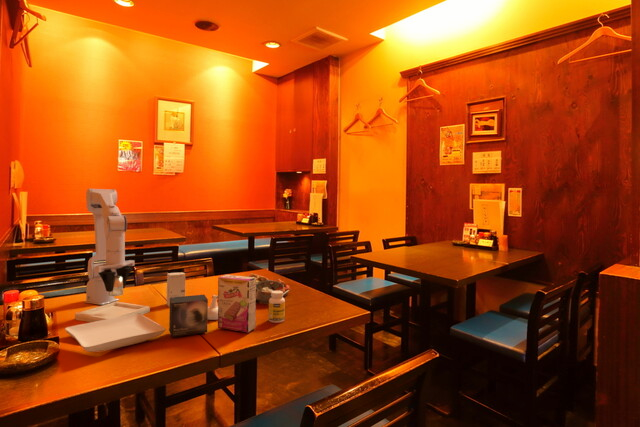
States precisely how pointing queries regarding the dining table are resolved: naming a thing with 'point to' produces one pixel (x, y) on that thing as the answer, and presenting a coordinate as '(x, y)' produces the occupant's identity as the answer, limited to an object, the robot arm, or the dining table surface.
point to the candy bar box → (236, 303)
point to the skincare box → (175, 285)
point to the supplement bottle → (276, 307)
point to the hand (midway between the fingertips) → (115, 289)
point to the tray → (111, 311)
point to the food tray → (267, 288)
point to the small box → (188, 315)
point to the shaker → (117, 286)
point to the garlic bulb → (213, 309)
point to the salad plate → (115, 332)
